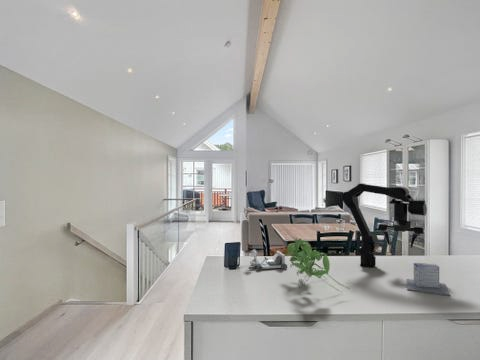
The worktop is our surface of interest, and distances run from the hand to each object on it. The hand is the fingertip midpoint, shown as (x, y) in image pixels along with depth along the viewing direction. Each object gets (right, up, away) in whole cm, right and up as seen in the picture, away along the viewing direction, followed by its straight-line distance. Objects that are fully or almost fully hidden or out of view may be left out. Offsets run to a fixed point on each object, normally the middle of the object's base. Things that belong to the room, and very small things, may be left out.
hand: (400, 246), depth 144 cm
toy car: (-62, -13, +9) cm, 64 cm away
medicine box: (-1, -11, -22) cm, 24 cm away
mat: (-1, -12, -22) cm, 25 cm away
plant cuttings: (-45, -12, -20) cm, 51 cm away
